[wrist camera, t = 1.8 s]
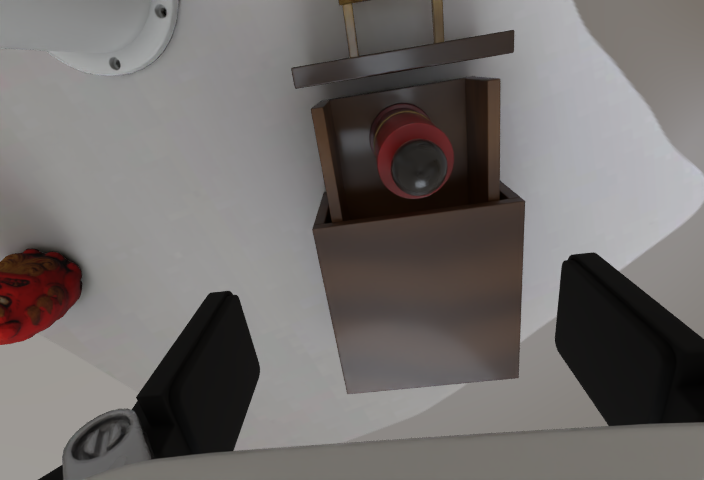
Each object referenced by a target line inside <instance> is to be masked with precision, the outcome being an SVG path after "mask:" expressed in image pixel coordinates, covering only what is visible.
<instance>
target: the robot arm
mask: <svg viewBox="0 0 704 480" xmlns="http://www.w3.org/2000/svg"><path fill="white" fill-rule="evenodd" d="M178 5H179V2H178V0H0V48H2V49H21V50H40V51H47V52H48V53H49V54H50V55H52V56H53V57H54V58H56V59H58V60H59V61H61V62H63V63H64V64H66V65H68V66H70V67H72V68H75V69H77V70H80V71H83V72H85V73H90V74H95V75H101V76H116V75H125V74H130V73H133V72H136V71H139V70H141V69H143V68H145V67H146V66H148V65H149V64H151V63H152V62H154V61H155V60H156V59H157V58H158V57H159V55H160V54H161V53H162V52H163V51H164V50H165V48H166V46H167V44H168V42H169V41H170V39H171V37H172V34H173V31H174V28H175V25H176V21H177V13H178ZM165 9H166V10H167V15H166V16H165V15H164V10H165ZM119 61H120V64H121V66H120V65H119ZM555 343H556V347H557V350H558V352H559V353H560V355H561V356H562V358H563V359H564V360H565V362H566V363H567V365H568V366H569V368H570V369H571V371H572V372H573V374H574V375H575V377H576V378H577V380H578V381H579V383H580V384H581V385H582V387H583V389H584V390H585V391H586V393H587V394H588V396H589V397H590V399H591V400H592V401H593V403H594V404H595V406H596V408H597V409H598V411H599V412H600V413H601V415H602V416H603V418H604V419H605V421H606V422H607V424H608V425H609V426H603V427H585V428H569V429H553V430H535V431H520V432H503V433H487V434H470V435H455V436H441V437H426V438H410V439H395V440H380V441H366V442H351V443H337V444H323V445H309V446H296V447H282V448H268V449H254V450H242V451H233V450H234V447H235V444H236V442H237V439H238V436H239V433H240V430H241V427H242V424H243V422H244V419H245V416H246V413H247V410H248V407H249V404H250V401H251V399H252V396H253V393H254V390H255V387H256V384H257V381H258V379H259V375H260V366H259V362H258V359H257V355H256V352H255V349H254V345H253V342H252V339H251V336H250V332H249V329H248V326H247V323H246V319H245V316H244V313H243V310H242V306H241V303H240V300H239V297H238V296H237V295H233V294H232V293H231V292H230V291H223V292H214V293H210V294H209V295H208V296H207V297H206V299H205V300H204V301H203V303H202V304H201V306H200V307H199V309H198V310H197V311H196V313H195V314H194V316H193V317H192V319H191V320H190V321H189V323H188V324H187V326H186V327H185V328H184V330H183V331H182V333H181V334H180V336H179V337H178V338H177V340H176V341H175V343H174V344H173V346H172V347H171V348H170V350H169V351H168V353H167V354H166V356H165V357H164V358H163V360H162V361H161V363H160V364H159V365H158V367H157V368H156V370H155V371H154V373H153V374H152V375H151V377H150V378H149V380H148V381H147V383H146V384H145V385H144V387H143V388H142V390H141V391H140V393H139V394H138V395H137V397H136V398H137V400H138V401H137V403H136V404H135V406H134V407H133V409H132V410H130V409H117V410H112V411H109V412H106V413H104V414H102V415H99V416H98V417H96V418H94V419H93V420H91V421H89V422H88V423H87V424H85V425H84V426H83V427H81V428H80V429H79V430H78V431H77V432H76V433H75V434H74V435H73V436H72V437H71V439H70V440H69V441H68V443H67V445H66V447H65V448H64V451H63V456H62V462H63V465H61V466H60V467H58V468H56V469H55V470H53V471H52V472H50V473H48V474H47V475H45V476H43V477H42V478H40V479H38V480H704V339H703V338H702V337H700V336H699V335H698V334H697V333H695V332H694V331H693V330H692V329H690V328H689V327H688V326H687V325H685V324H684V323H683V322H682V321H680V320H679V319H678V318H677V317H675V316H674V315H673V314H672V313H670V312H669V311H668V310H667V309H665V308H664V307H663V306H661V305H660V304H659V303H658V302H656V301H655V300H654V299H653V298H651V297H650V296H649V295H648V294H646V293H645V292H644V291H643V290H641V289H640V288H639V287H637V286H636V285H635V284H634V283H633V282H631V281H630V280H629V279H628V278H626V277H625V276H624V275H623V274H621V273H620V272H619V271H618V270H616V269H615V268H614V267H613V266H611V265H610V264H609V263H608V262H606V261H605V260H604V259H603V258H601V257H600V256H599V255H598V254H596V253H584V254H574V255H571V256H570V257H569V258H568V260H567V261H564V262H563V263H562V270H561V280H560V291H559V301H558V312H557V322H556V333H555Z"/></svg>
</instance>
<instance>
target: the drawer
mask: <svg viewBox="0 0 704 480" xmlns="http://www.w3.org/2000/svg"><path fill="white" fill-rule="evenodd" d="M338 1H339V5H340V6H342V5H343V13H344V20H345V27H346V34H347V41H348V49H349V56H350V58H346V59H340V60H334V61H328V62H322V63H317V64H311V65H305V66H299V67H293V68H291V71H292V76H293V81H294V86H295V88H296V89H298V88H304V87H310V86H316V85H322V84H328V83H334V82H340V81H346V80H352V79H358V78H364V77H370V76H376V75H382V74H388V73H394V72H400V71H406V70H412V69H418V68H424V67H431V66H437V65H443V64H449V63H455V62H461V61H467V60H473V59H479V58H485V57H491V56H497V55H503V54H509V53H513V52H514V30H510V31H504V32H498V33H492V34H486V35H480V36H475V37H469V38H463V39H457V40H451V41H445V42H444V22H443V1H442V0H431V5H432V22H433V40H434V44H428V45H422V46H416V47H410V48H404V49H398V50H393V51H387V52H381V53H375V54H369V55H363V56H359V53H358V45H357V38H356V30H355V22H354V15H353V7H352V4H353V3H358V2H364V1H369V0H338ZM397 103H409V104H412V105H415V106H417V107H419V108H420V109H422V110H423V111H424V112H425V113H426V114H427V115H428V117H429V118H430V120H431V122H432V123H433V124H434V125H435V126H436V127H438V128H439V129H440V130H441V131H442V132H443V133H445V135H446V136H447V137H448V139H449V140H450V142H451V144H452V147H453V151H454V165H453V169H452V172H451V174H450V177H449V178H448V180H447V181H446V183H445V184H444V185H443V186H442V187H441V188H440V189H439V190H437V191H436V192H434V193H433V194H431V195H429V196H426V197H423V198H416V199H410V198H404V197H401V196H398V195H396V194H394V193H393V192H391V191H390V190H389V189H388V188H387V187H386V186H385V185H384V183H383V182H382V180H381V178H380V176H379V173H378V168H377V161H376V157H375V155H374V154H373V152H372V149H371V146H370V139H369V134H370V128H371V125H372V123H373V121H374V119H375V118H376V116H377V115H378V114H379V113H380V112H381V111H382V110H383V109H385V108H386V107H388V106H390V105H393V104H397ZM311 113H312V118H313V124H314V129H315V134H316V140H317V145H318V150H319V156H320V161H321V166H322V172H323V177H324V182H325V187H326V193H327V198H328V203H329V209H330V214H331V219H332V223H334V222H342V221H349V220H356V219H364V218H371V217H379V216H386V215H394V214H401V213H409V212H416V211H424V210H431V209H439V208H446V207H454V206H461V205H468V204H476V203H483V202H491V201H498V200H499V195H500V79H499V78H486V77H475V76H471V77H465V78H459V79H453V80H447V81H440V82H434V83H428V84H422V85H416V86H410V87H403V88H397V89H391V90H385V91H379V92H373V93H366V94H360V95H354V96H348V97H342V98H336V99H329V100H323V101H320V102H319V103H318V104H317V105H315V106H314V107H313V108H312V109H311Z"/></svg>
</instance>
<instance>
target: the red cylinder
mask: <svg viewBox="0 0 704 480" xmlns="http://www.w3.org/2000/svg"><path fill="white" fill-rule="evenodd" d="M369 139H370V146H371V149H372V152H373V154H374V155H375V157H376V161H377V168H378V173H379V176H380V178H381V180H382V182H383V183H384V185H385V186H386V187H387V188H388V189H389V190H390V191H391V192H393V193H394V194H396V195H398V196H401V197H404V198H410V199H416V198H423V197H426V196H429V195H431V194H433V193H434V192H436V191H437V190H439V189H440V188H441V187H442V186H443V185H444V184H445V183H446V181H447V180H448V178H449V177H450V174H451V172H452V169H453V165H454V151H453V147H452V144H451V142H450V140H449V139H448V137H447V136H446V135H445V133H443V132H442V131H441V130H440V129H439V128H438V127H436V126H435V125H434V124H433V123H432V122H431V120H430V118H429V117H428V115H427V114H426V113H425V112H424V111H423V110H422V109H420V108H419V107H417V106H415V105H412V104H409V103H397V104H393V105H390V106H388V107H386V108H385V109H383V110H382V111H381V112H380V113H379V114H378V115H377V116H376V118H375V119H374V121H373V123H372V125H371V128H370V134H369Z"/></svg>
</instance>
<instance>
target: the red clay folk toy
mask: <svg viewBox="0 0 704 480" xmlns="http://www.w3.org/2000/svg"><path fill="white" fill-rule="evenodd" d="M81 278H82V274H81V269H80V268H79V267H78V265H77V264H75V263H73V262H70V261H68V260H67V259H65V257H64V256H62V255H61V254H60V253H57V252H49V253H42V252H39V250H37V249H27V250H25V251H24V252H23V253H15V254H11V255H8V256H6V257H5V258H4V259H3V260H2V261H1V262H0V345H4V344H11V343H15V342H20V341H24V340H26V339H29V338H31V337H33V336H34V335H35V334H37V333H38V332H40V331H43V330H45V329H46V328H48V327H50V326H51V325H52V324H53V323H54V322H55V321H56V320H58V319H60V318H61V317H63V316H64V315H65V313H66V312H67V311H68V310H69V309H70V308H71V307H72V306H73V305H74V304H75V302H76V301H77V300H78V299H79V297H80V294H81V290H82V281H80V280H81Z"/></svg>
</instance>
